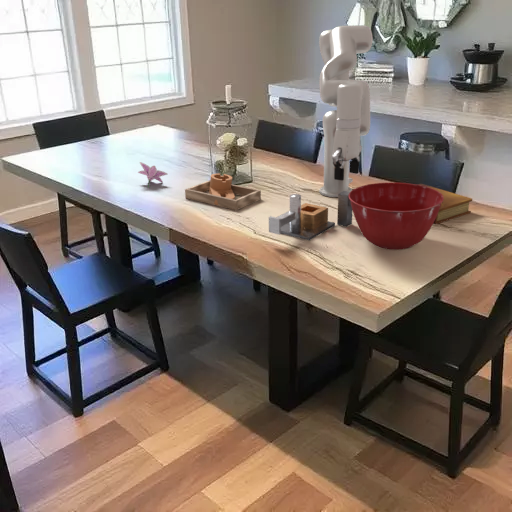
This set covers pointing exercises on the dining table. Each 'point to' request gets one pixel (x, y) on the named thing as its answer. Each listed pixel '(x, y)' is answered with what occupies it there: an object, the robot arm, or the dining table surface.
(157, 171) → the lily
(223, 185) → the bracket
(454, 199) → the diary
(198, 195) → the wooden tray
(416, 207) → the mixing bowl
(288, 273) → the dining table surface
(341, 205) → the grey rectangular block
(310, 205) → the grey stepped fixture
